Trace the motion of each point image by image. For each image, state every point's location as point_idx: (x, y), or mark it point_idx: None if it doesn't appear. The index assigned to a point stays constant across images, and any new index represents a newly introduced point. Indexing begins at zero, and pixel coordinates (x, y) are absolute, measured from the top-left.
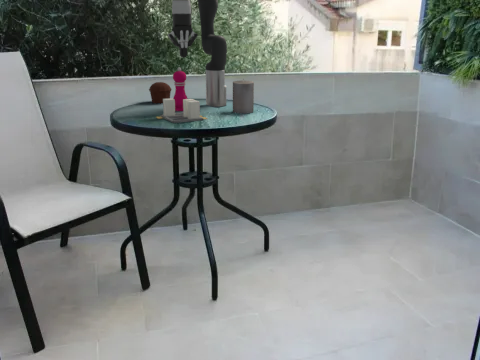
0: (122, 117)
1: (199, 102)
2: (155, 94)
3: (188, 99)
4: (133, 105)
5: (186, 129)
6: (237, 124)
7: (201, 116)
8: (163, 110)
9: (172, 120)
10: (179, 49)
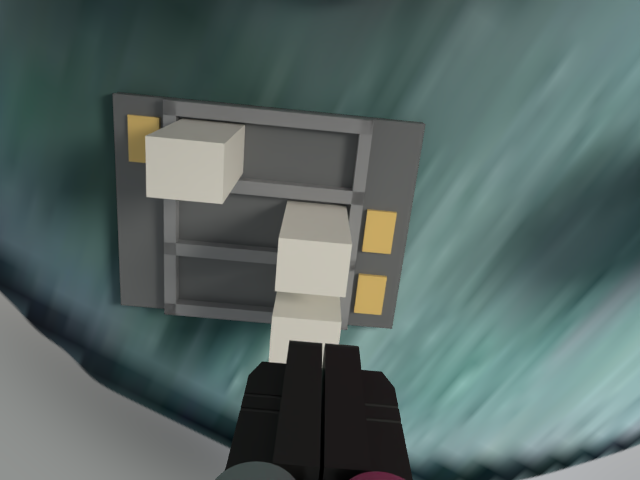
0: None
1: None
2: None
3: (312, 261)
4: None
5: (197, 401)
6: (462, 429)
7: (381, 253)
8: (171, 124)
9: (167, 298)
10: (230, 453)
